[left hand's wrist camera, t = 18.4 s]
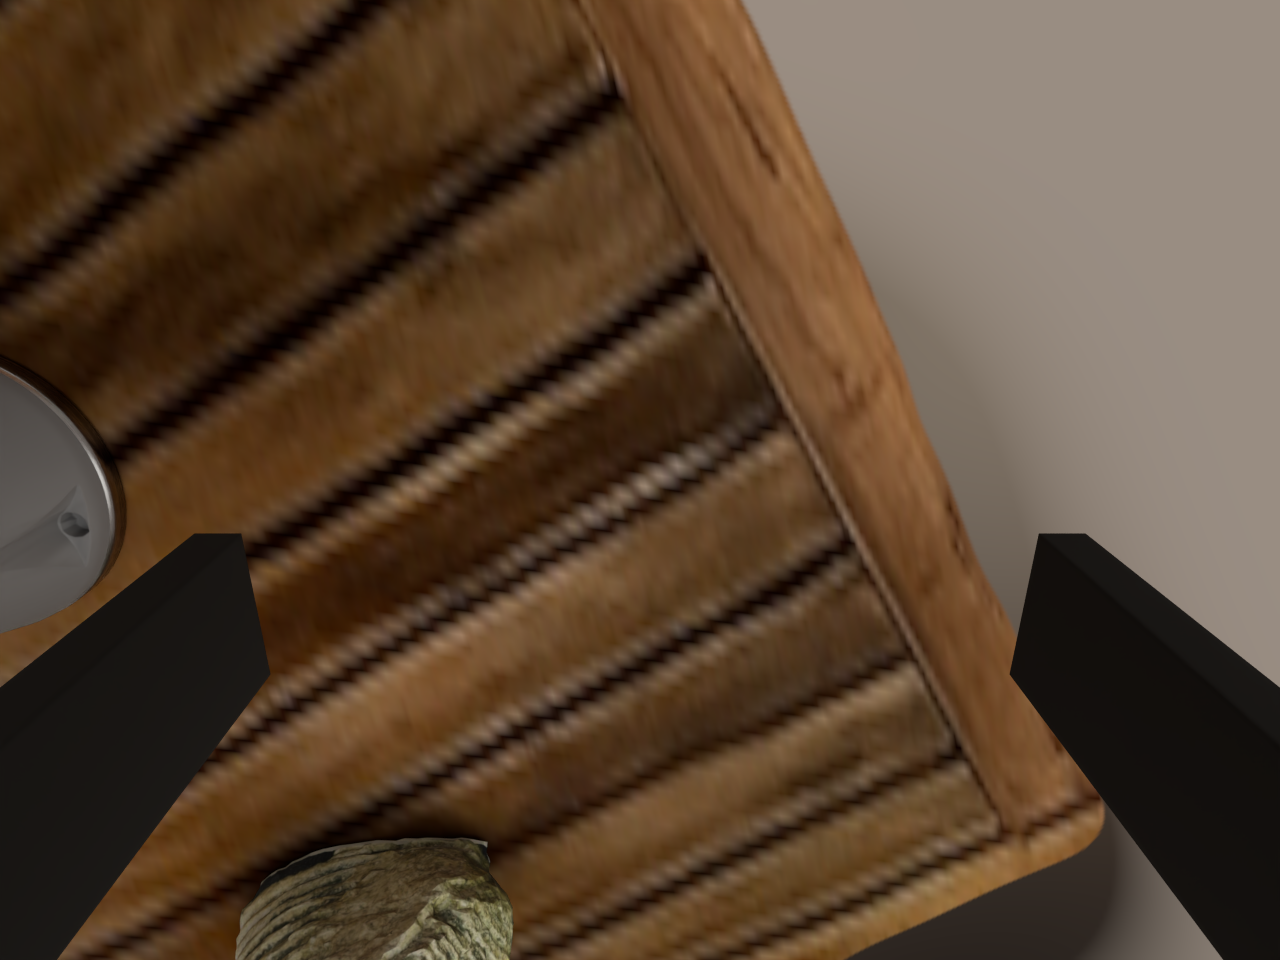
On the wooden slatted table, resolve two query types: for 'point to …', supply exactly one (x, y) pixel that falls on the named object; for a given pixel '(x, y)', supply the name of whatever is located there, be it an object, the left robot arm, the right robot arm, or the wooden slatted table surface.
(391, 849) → the fossil
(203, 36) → the wooden slatted table surface
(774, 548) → the wooden slatted table surface
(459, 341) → the wooden slatted table surface
